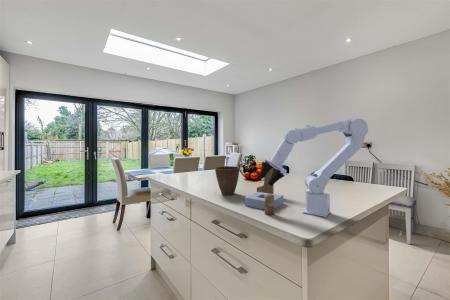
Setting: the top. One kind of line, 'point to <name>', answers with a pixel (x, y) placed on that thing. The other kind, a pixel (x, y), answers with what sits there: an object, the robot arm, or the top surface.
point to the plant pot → (227, 179)
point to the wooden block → (266, 187)
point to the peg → (269, 204)
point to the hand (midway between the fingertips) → (265, 181)
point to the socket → (262, 200)
